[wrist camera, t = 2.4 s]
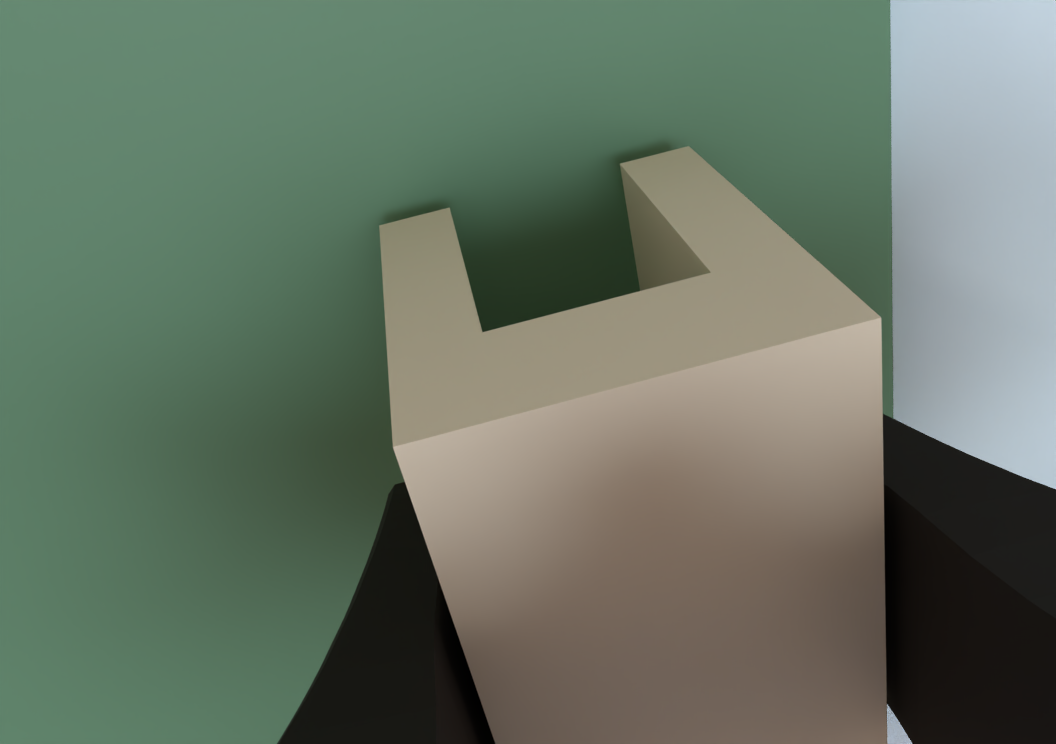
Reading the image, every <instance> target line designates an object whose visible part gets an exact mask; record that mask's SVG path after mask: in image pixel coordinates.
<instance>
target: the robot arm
mask: <svg viewBox="0 0 1056 744" xmlns="http://www.w3.org/2000/svg"><path fill="white" fill-rule="evenodd" d="M883 475H884V546H885V618H886V690H887V704H888V706H889V707H890V708H891V710H892V711H893V713H894V714H895V716H896V717H897V719H898V720H899V722H900V724H901V725H902V727H903V729H904V730H905V732H906V733H907V735H908V737H909V738H910V740H911V742H912V743H913V744H1056V489H1053V488H1050V487H1048V486H1045V485H1042V484H1040V483H1037V482H1034V481H1032V480H1029V479H1026V478H1024V477H1021V476H1019V475H1017V474H1014V473H1012V472H1009V471H1007V470H1004V469H1002V468H1000V467H997V466H995V465H992V464H990V463H988V462H985V461H983V460H980V459H978V458H976V457H973V456H971V455H969V454H967V453H964V452H962V451H960V450H958V449H955V448H953V447H951V446H949V445H947V444H944V443H942V442H940V441H938V440H936V439H934V438H932V437H929V436H927V435H925V434H923V433H921V432H919V431H917V430H915V429H913V428H911V427H909V426H907V425H905V424H903V423H901V422H899V421H897V420H895V419H893V418H891V417H889V416H887V415H885V414H883ZM277 744H495V741H494V738H493V735H492V733H491V730H490V727H489V724H488V721H487V718H486V715H485V712H484V709H483V706H482V704H481V701H480V698H479V695H478V692H477V689H476V686H475V683H474V680H473V678H472V675H471V672H470V669H469V666H468V663H467V660H466V657H465V654H464V651H463V649H462V646H461V643H460V640H459V637H458V634H457V631H456V628H455V625H454V623H453V620H452V617H451V614H450V611H449V608H448V605H447V602H446V599H445V597H444V594H443V591H442V588H441V585H440V582H439V579H438V576H437V573H436V570H435V568H434V565H433V562H432V559H431V556H430V553H429V550H428V547H427V544H426V542H425V539H424V536H423V533H422V530H421V527H420V524H419V521H418V518H417V515H416V513H415V510H414V507H413V504H412V501H411V498H410V495H409V492H408V489H407V487H406V484H405V482H402V483H398V484H395V485H394V486H393V488H392V489H391V491H390V493H389V494H388V498H387V502H386V505H385V509H384V512H383V516H382V519H381V522H380V525H379V528H378V531H377V534H376V537H375V540H374V543H373V546H372V549H371V552H370V554H369V557H368V560H367V563H366V565H365V568H364V570H363V573H362V575H361V578H360V580H359V583H358V585H357V588H356V590H355V593H354V595H353V598H352V600H351V603H350V605H349V607H348V610H347V612H346V614H345V617H344V619H343V621H342V623H341V625H340V627H339V629H338V631H337V634H336V636H335V638H334V640H333V642H332V644H331V646H330V648H329V650H328V652H327V654H326V657H325V659H324V661H323V663H322V665H321V667H320V669H319V671H318V673H317V675H316V677H315V679H314V680H313V682H312V684H311V686H310V688H309V690H308V692H307V693H306V695H305V697H304V699H303V701H302V702H301V704H300V706H299V708H298V709H297V711H296V713H295V715H294V716H293V718H292V720H291V721H290V723H289V725H288V726H287V728H286V730H285V731H284V733H283V735H282V736H281V738H280V740H279V741H278V743H277Z"/></svg>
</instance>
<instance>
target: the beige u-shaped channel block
mask: <svg viewBox="0 0 1056 744" xmlns="http://www.w3.org/2000/svg"><path fill="white" fill-rule="evenodd" d="M620 169H621V175H622V181H623V187H624V194H625V200H626V206H627V212H628V218H629V225H630V231H631V237H632V243H633V249H634V256H635V262H636V268H637V274H638V280H639V287H640V291H639V292H635V293H631V294H627V295H623V296H619V297H616V298H612V299H608V300H604V301H600V302H597V303H593V304H589V305H585V306H581V307H577V308H574V309H570V310H566V311H562V312H558V313H555V314H551V315H547V316H543V317H539V318H535V319H532V320H528V321H524V322H520V323H516V324H513V325H509V326H505V327H501V328H497V329H493V330H490V331H486V332H482V328H481V325H480V321H479V317H478V313H477V310H476V306H475V302H474V298H473V294H472V291H471V287H470V283H469V279H468V275H467V272H466V268H465V264H464V260H463V257H462V253H461V249H460V245H459V241H458V238H457V234H456V230H455V226H454V223H453V219H452V215H451V211H450V207H449V208H445V209H441V210H438V211H434V212H430V213H426V214H422V215H418V216H414V217H410V218H406V219H402V220H399V221H395V222H391V223H387V224H383V225H379V230H380V246H381V262H382V279H383V295H384V311H385V327H386V344H387V360H388V376H389V392H390V409H391V425H392V441H393V449H394V452H395V455H396V458H397V461H398V463H399V466H400V469H401V472H402V475H403V478H404V481H405V484H406V487H407V489H408V492H409V495H410V498H411V501H412V504H413V507H414V510H415V513H416V515H417V518H418V521H419V524H420V527H421V530H422V533H423V536H424V539H425V542H426V544H427V547H428V550H429V553H430V556H431V559H432V562H433V565H434V568H435V570H436V573H437V576H438V579H439V582H440V585H441V588H442V591H443V594H444V597H445V599H446V602H447V605H448V608H449V611H450V614H451V617H452V620H453V623H454V625H455V628H456V631H457V634H458V637H459V640H460V643H461V646H462V649H463V651H464V654H465V657H466V660H467V663H468V666H469V669H470V672H471V675H472V678H473V680H474V683H475V686H476V689H477V692H478V695H479V698H480V701H481V704H482V706H483V709H484V712H485V715H486V718H487V721H488V724H489V727H490V730H491V733H492V735H493V738H494V741H495V744H887V690H886V618H885V546H884V475H883V402H882V330H881V317H880V316H879V315H878V314H877V313H876V312H875V311H873V310H872V309H871V308H870V307H869V306H868V305H867V304H866V303H864V302H863V301H862V300H861V299H860V298H859V297H858V296H857V295H855V294H854V293H853V292H852V291H851V290H850V289H849V288H848V287H846V286H845V285H844V284H843V283H842V282H841V281H840V280H839V279H837V278H836V277H835V276H834V275H833V274H832V273H831V272H830V271H829V270H827V269H826V268H825V267H824V266H823V265H822V264H821V263H820V262H818V261H817V260H816V259H815V258H814V257H813V256H812V255H811V254H809V253H808V252H807V251H806V250H805V249H804V248H803V247H802V246H800V245H799V244H798V243H797V242H796V241H795V240H794V239H793V238H791V237H790V236H789V235H788V234H787V233H786V232H785V231H784V230H782V229H781V228H780V227H779V226H778V225H777V224H776V223H775V222H773V221H772V220H771V219H770V218H769V217H768V216H767V215H766V214H764V213H763V212H762V211H761V210H760V209H759V208H758V207H757V206H755V205H754V204H753V203H752V202H751V201H750V200H749V199H748V198H746V197H745V196H744V195H743V194H742V193H741V192H740V191H739V190H738V189H736V188H735V187H734V186H733V185H732V184H731V183H730V182H729V181H727V180H726V179H725V178H724V177H723V176H722V175H721V174H720V173H718V172H717V171H716V170H715V169H714V168H713V167H712V166H711V165H709V164H708V163H707V162H706V161H705V160H704V159H703V158H702V157H700V156H699V155H698V154H697V153H696V152H695V151H694V150H693V149H691V148H690V147H689V146H687V147H683V148H679V149H675V150H671V151H667V152H664V153H660V154H656V155H652V156H648V157H644V158H640V159H636V160H632V161H628V162H625V163H621V164H620Z"/></svg>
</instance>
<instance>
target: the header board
mask: <svg viewBox="0 0 1056 744" xmlns="http://www.w3.org/2000/svg"><path fill="white" fill-rule="evenodd" d="M687 146H689V147H690V148H691V149H693V150H694V151H695V152H696V153H697V154H698V155H699V156H700V157H702V158H703V159H704V160H705V161H706V162H707V163H708V164H709V165H711V166H712V167H713V168H714V169H715V170H716V171H717V172H718V173H720V174H721V175H722V176H723V177H724V178H725V179H726V180H727V181H729V182H730V183H731V184H732V185H733V186H734V187H735V188H736V189H738V190H739V191H740V192H741V193H742V194H743V195H744V196H745V197H746V198H748V199H749V200H750V201H751V202H752V203H753V204H754V205H755V206H757V207H758V208H759V209H760V210H761V211H762V212H763V213H764V214H766V215H767V216H768V217H769V218H770V219H771V220H772V221H773V222H775V223H776V224H777V225H778V226H779V227H780V228H781V229H782V230H784V231H785V232H786V233H787V234H788V235H789V236H790V237H791V238H793V239H794V240H795V241H796V242H797V243H798V244H799V245H800V246H802V247H803V248H804V249H805V250H806V251H807V252H808V253H809V254H811V255H812V256H813V257H814V258H815V259H816V260H817V261H818V262H820V263H821V264H822V265H823V266H824V267H825V268H826V269H827V270H829V271H830V272H831V273H832V274H833V275H834V276H835V277H836V278H837V279H839V280H840V281H841V282H842V283H843V284H844V285H845V286H846V287H848V288H849V289H850V290H851V291H852V292H853V293H854V294H855V295H857V296H858V297H859V298H860V299H861V300H862V301H863V302H864V303H866V304H867V305H868V306H869V307H870V308H871V309H872V310H873V311H875V312H876V313H877V314H878V315H879V316H880V317H881V330H882V402H883V414H885V415H887V416H889V417H891V418H893V346H892V200H891V54H890V0H0V744H277V743H278V741H279V740H280V738H281V736H282V735H283V733H284V731H285V730H286V728H287V726H288V725H289V723H290V721H291V720H292V718H293V716H294V715H295V713H296V711H297V709H298V708H299V706H300V704H301V702H302V701H303V699H304V697H305V695H306V693H307V692H308V690H309V688H310V686H311V684H312V682H313V680H314V679H315V677H316V675H317V673H318V671H319V669H320V667H321V665H322V663H323V661H324V659H325V657H326V654H327V652H328V650H329V648H330V646H331V644H332V642H333V640H334V638H335V636H336V634H337V631H338V629H339V627H340V625H341V623H342V621H343V619H344V617H345V614H346V612H347V610H348V607H349V605H350V603H351V600H352V598H353V595H354V593H355V590H356V588H357V585H358V583H359V580H360V578H361V575H362V573H363V570H364V568H365V565H366V563H367V560H368V557H369V554H370V552H371V549H372V546H373V543H374V540H375V537H376V534H377V531H378V528H379V525H380V522H381V519H382V516H383V512H384V509H385V505H386V502H387V498H388V494H389V493H390V491H391V489H392V488H393V486H394V485H395V484H398V483H402V482H405V481H404V478H403V475H402V472H401V469H400V466H399V463H398V461H397V458H396V455H395V452H394V449H393V441H392V425H391V409H390V392H389V376H388V360H387V344H386V327H385V311H384V295H383V279H382V262H381V246H380V230H379V225H383V224H387V223H391V222H395V221H399V220H402V219H406V218H410V217H414V216H418V215H422V214H426V213H430V212H434V211H438V210H441V209H445V208H449V207H450V211H451V215H452V219H453V223H454V226H455V230H456V234H457V238H458V241H459V245H460V249H461V253H462V257H463V260H464V264H465V268H466V272H467V275H468V279H469V283H470V287H471V291H472V294H473V298H474V302H475V306H476V310H477V313H478V317H479V321H480V325H481V328H482V332H486V331H490V330H493V329H497V328H501V327H505V326H509V325H513V324H516V323H520V322H524V321H528V320H532V319H535V318H539V317H543V316H547V315H551V314H555V313H558V312H562V311H566V310H570V309H574V308H577V307H581V306H585V305H589V304H593V303H597V302H600V301H604V300H608V299H612V298H616V297H619V296H623V295H627V294H631V293H635V292H639V291H640V287H639V280H638V274H637V268H636V262H635V256H634V249H633V243H632V237H631V231H630V225H629V218H628V212H627V206H626V200H625V194H624V187H623V181H622V175H621V169H620V164H621V163H625V162H628V161H632V160H636V159H640V158H644V157H648V156H652V155H656V154H660V153H664V152H667V151H671V150H675V149H679V148H683V147H687Z"/></svg>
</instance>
